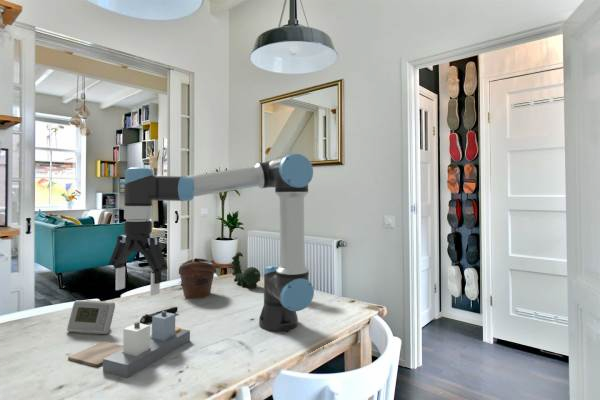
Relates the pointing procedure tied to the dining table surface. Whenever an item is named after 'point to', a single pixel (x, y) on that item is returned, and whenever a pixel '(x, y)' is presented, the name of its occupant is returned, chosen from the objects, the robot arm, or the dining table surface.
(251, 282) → the toy figurine
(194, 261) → the brown flower pot
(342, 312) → the dining table surface
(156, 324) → the block
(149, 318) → the electric trimmer
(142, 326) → the block
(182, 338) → the grey long flat block
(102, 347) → the walnut mat
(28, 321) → the dining table surface
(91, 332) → the digital clock
